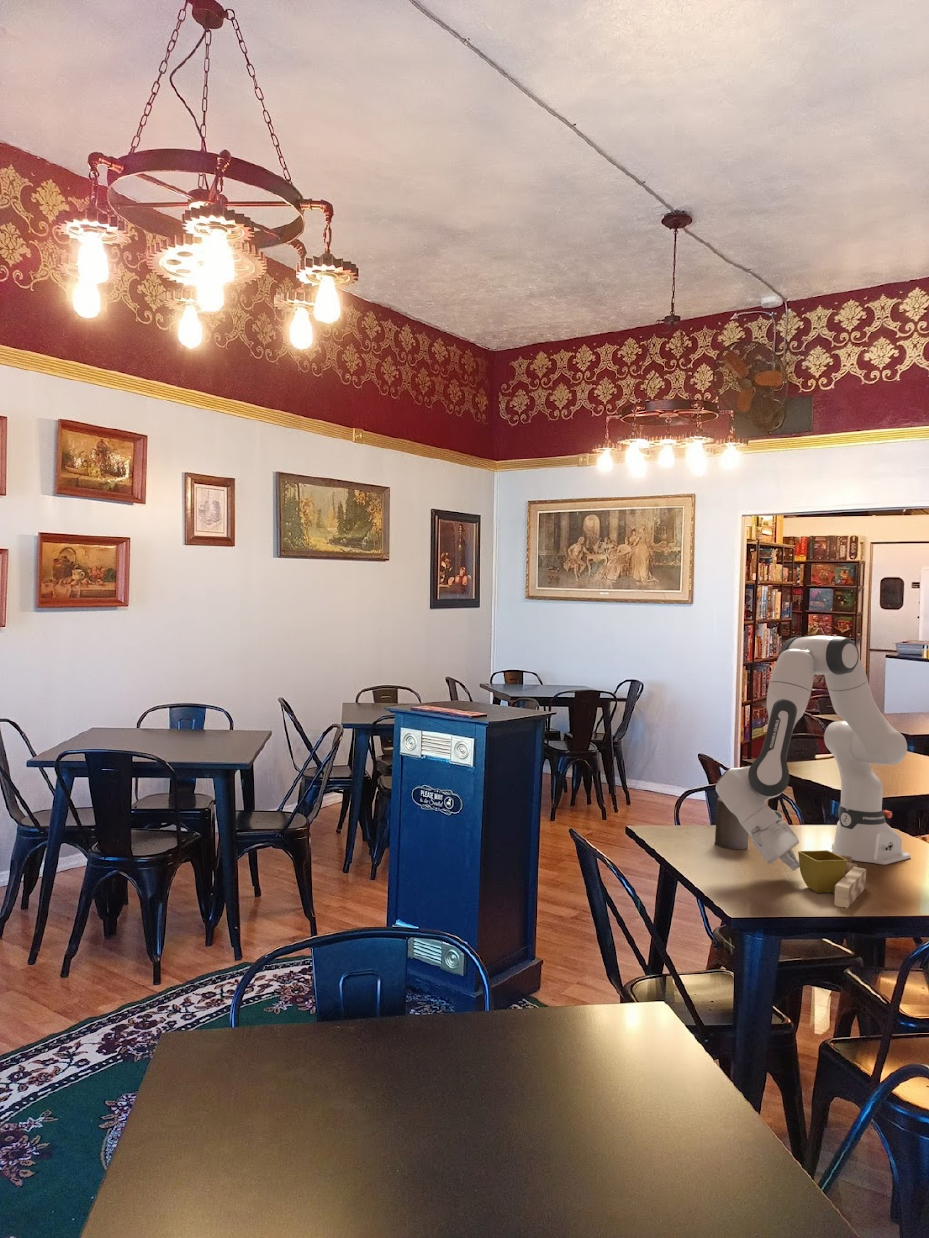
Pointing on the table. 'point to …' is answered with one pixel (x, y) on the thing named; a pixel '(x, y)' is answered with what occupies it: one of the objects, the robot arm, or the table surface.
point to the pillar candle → (729, 829)
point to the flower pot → (821, 869)
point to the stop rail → (850, 887)
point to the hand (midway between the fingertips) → (797, 868)
